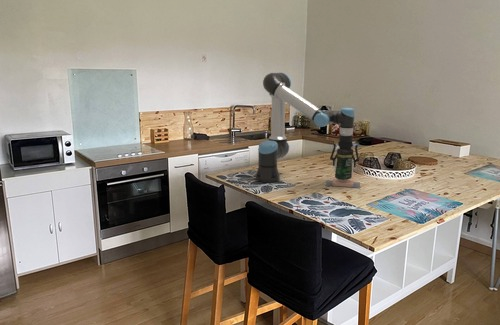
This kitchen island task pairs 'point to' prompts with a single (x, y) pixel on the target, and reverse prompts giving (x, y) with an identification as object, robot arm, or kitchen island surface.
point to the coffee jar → (344, 164)
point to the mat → (329, 183)
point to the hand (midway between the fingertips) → (343, 171)
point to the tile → (342, 182)
